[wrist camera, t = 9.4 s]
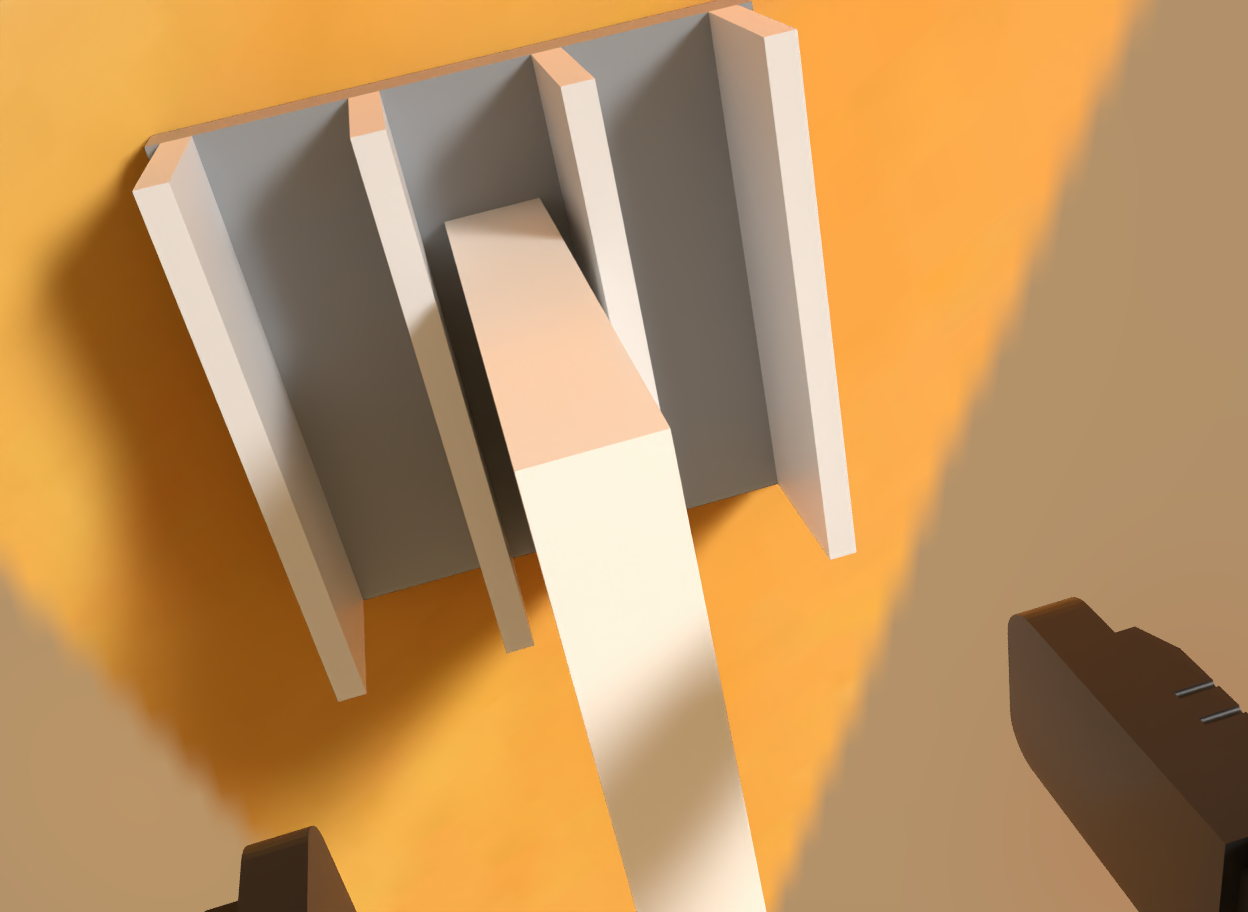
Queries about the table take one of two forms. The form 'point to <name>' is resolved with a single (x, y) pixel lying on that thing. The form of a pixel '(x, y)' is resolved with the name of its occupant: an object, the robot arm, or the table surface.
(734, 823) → the cream upright slab
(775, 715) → the table surface
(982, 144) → the table surface
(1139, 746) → the robot arm
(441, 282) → the dish rack
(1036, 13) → the table surface
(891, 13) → the table surface
